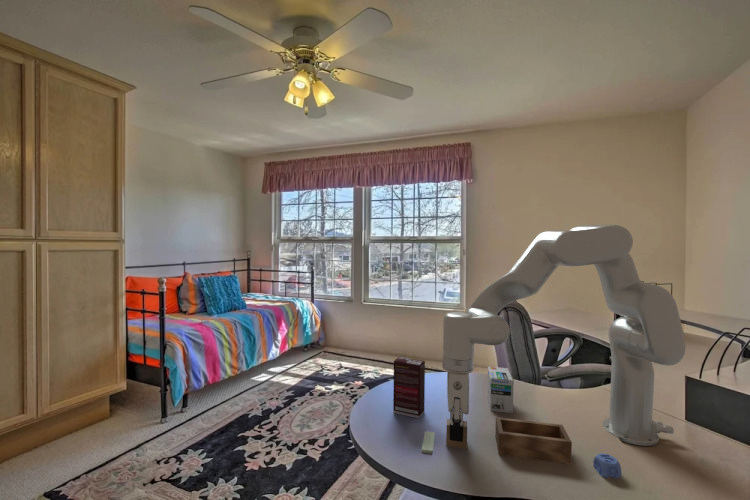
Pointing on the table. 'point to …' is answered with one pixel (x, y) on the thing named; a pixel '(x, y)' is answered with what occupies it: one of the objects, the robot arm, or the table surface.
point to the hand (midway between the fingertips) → (456, 432)
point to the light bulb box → (500, 389)
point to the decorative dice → (607, 466)
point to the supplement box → (409, 387)
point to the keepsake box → (533, 440)
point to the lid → (429, 439)
